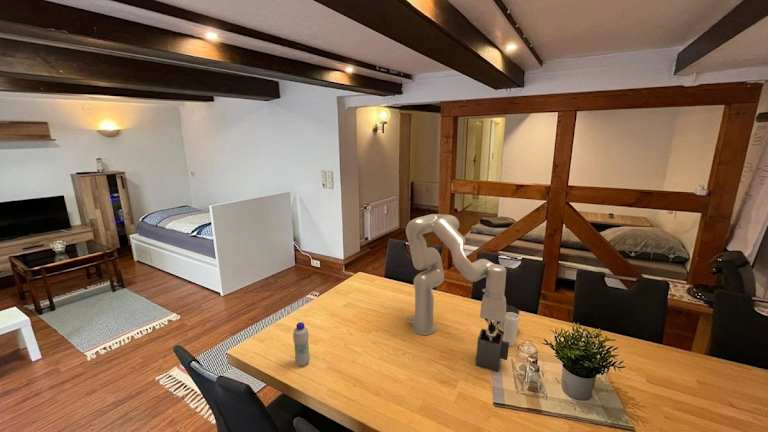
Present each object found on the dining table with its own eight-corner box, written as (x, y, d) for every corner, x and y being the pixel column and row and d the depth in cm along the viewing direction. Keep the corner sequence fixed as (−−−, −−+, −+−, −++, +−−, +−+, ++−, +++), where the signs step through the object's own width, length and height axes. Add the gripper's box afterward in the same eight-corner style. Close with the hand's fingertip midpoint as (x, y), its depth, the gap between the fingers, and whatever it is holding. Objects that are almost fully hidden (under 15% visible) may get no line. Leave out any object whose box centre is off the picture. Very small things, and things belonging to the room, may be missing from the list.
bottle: (313, 360, 151) (311, 320, 146) (305, 369, 145) (302, 328, 140) (300, 356, 153) (297, 317, 149) (291, 366, 147) (288, 325, 142)
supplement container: (495, 333, 171) (497, 312, 168) (497, 323, 181) (499, 303, 178) (517, 338, 168) (520, 316, 165) (518, 327, 177) (520, 306, 174)
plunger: (479, 357, 147) (481, 334, 144) (482, 348, 154) (484, 325, 151) (496, 362, 144) (498, 338, 142) (498, 352, 151) (500, 329, 148)
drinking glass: (517, 348, 160) (520, 320, 156) (502, 346, 161) (505, 318, 157) (515, 339, 166) (518, 312, 163) (501, 338, 168) (503, 311, 164)
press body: (475, 365, 148) (477, 339, 144) (479, 353, 156) (481, 328, 153) (505, 374, 143) (508, 347, 139) (507, 360, 151) (510, 335, 148)
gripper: (475, 293, 141) (472, 332, 146) (512, 300, 135) (508, 340, 140) (478, 286, 148) (475, 323, 152) (514, 293, 142) (510, 331, 146)
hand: (491, 331), depth 146 cm, fingers closed
